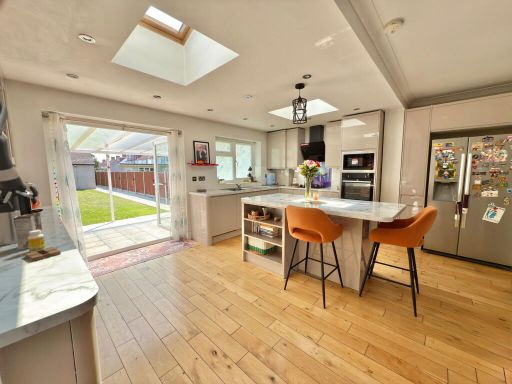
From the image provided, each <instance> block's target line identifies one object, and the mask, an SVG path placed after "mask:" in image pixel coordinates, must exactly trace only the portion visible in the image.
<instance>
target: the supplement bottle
mask: <svg viewBox="0 0 512 384" xmlns="http://www.w3.org/2000/svg"><path fill="white" fill-rule="evenodd" d="M29 235H30V236H29V237H28V244H29V248H28V249H29V252H33V251H37V250H42V249H46V243H45V236H44V233H43V234H41V230H34V231H30V232H29Z"/></svg>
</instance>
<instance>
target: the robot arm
mask: <svg viewBox="0 0 512 384" xmlns="http://www.w3.org/2000/svg"><path fill="white" fill-rule="evenodd" d="M8 117H9V113H8V108H7V106H6V105H5V103H3V102H1V101H0V203H3V204H1V205H0V246H7V245H14V244H17V237H16V230H15V223H14V218H15V217H18V216H21V210H20V204H19V203H20V202H19V197H22V196H24V197H27V198H29V199H30V201H31V203H32V205H36V204H37V202H38V201H37V198H36V197H39V195H40V194H39V192H38V190H37V189H36V186H35V185H34V184H30V185H25V184H24V182H23V181H22V178H21V177H20V175H19V173H18V171H17V169H16V167H14V165H13V162H12V160H11V158H10V155H9V149H8V147H9V146H8V141H7V139H6V138H5V137H4V136H3V128H4V126H5V123H6V122H7V120H8ZM28 190H29V191H28Z"/></svg>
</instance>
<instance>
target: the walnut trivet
mask: <svg viewBox="0 0 512 384" xmlns="http://www.w3.org/2000/svg"><path fill="white" fill-rule="evenodd" d="M61 252H62V251H61V250H60V249H57V248H55V247H52V246H50V247H45V249H42V250H37V251H33V252H30V251H29V252H25V253H24V257H25V258H27V259H28V260H29V261H31V262H37V261H40V260H44V259H49V258H51V257H52V258H53V257H54V256H55V257H56V256H59V255H61Z"/></svg>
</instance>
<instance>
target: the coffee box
mask: <svg viewBox="0 0 512 384" xmlns="http://www.w3.org/2000/svg"><path fill="white" fill-rule="evenodd" d="M20 215H21V214H20ZM14 223H15V230H16V237H17V243H16V244H17V249H18V250H25V249H26V250H27V249H29V244H28V237H29V236H30V235H29V232H30V231H34V230H41V234H43V235H44V233H43V228H42V220H41V214H40V213H26V214H22V215H21V216H18V217H15V218H14Z"/></svg>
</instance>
